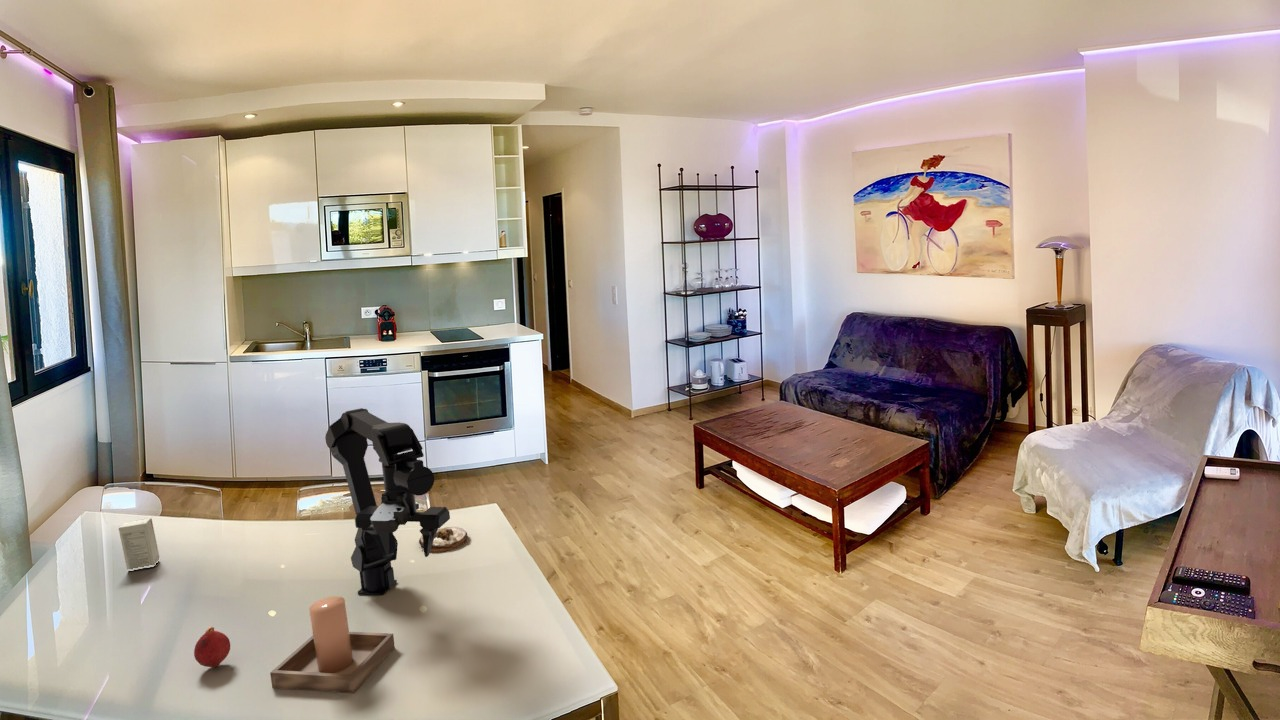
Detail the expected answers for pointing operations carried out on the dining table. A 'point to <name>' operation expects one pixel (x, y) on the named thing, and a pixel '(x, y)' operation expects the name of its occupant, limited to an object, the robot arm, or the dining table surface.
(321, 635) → the terracotta cylinder
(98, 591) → the dining table surface
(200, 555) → the dining table surface
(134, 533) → the skincare box
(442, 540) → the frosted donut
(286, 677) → the box
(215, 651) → the onion
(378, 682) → the dining table surface
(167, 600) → the dining table surface
